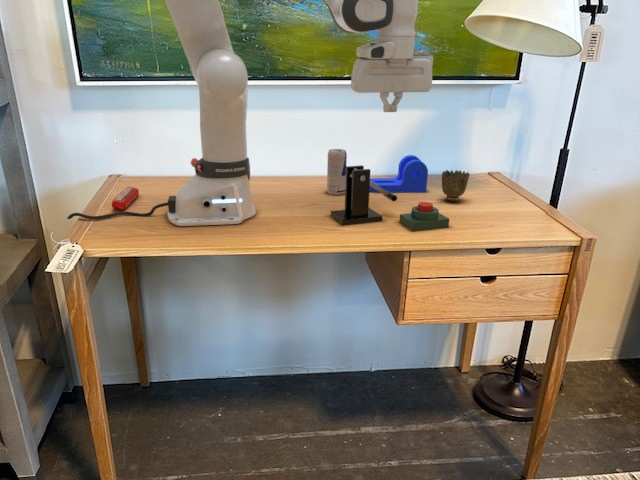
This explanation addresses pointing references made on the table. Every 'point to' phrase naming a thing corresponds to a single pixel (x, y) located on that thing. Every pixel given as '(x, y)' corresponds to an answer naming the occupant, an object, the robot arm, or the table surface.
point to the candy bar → (125, 198)
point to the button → (425, 207)
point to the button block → (424, 220)
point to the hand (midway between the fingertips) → (389, 111)
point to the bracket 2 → (405, 177)
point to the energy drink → (336, 171)
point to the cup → (454, 184)
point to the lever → (381, 190)
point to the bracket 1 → (356, 199)
